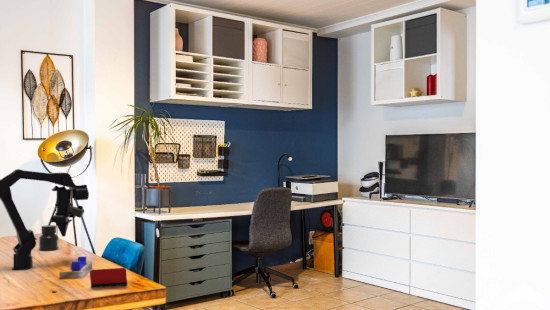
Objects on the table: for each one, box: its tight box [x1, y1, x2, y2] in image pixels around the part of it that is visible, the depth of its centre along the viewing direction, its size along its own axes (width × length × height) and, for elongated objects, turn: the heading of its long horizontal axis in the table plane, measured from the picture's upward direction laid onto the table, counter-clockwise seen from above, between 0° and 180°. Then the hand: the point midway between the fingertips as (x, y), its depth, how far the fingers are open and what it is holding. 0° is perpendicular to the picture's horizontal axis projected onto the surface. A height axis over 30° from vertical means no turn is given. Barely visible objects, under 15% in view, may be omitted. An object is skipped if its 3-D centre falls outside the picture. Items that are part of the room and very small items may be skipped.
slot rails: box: [58, 261, 93, 280], centre depth 224 cm, size 8×19×2 cm, turn 7°
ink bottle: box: [38, 224, 59, 252], centre depth 281 cm, size 10×9×12 cm
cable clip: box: [71, 256, 87, 271], centre depth 223 cm, size 12×4×6 cm, turn 7°
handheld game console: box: [89, 267, 128, 289], centre depth 203 cm, size 12×11×7 cm
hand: (63, 236), depth 245 cm, fingers closed
